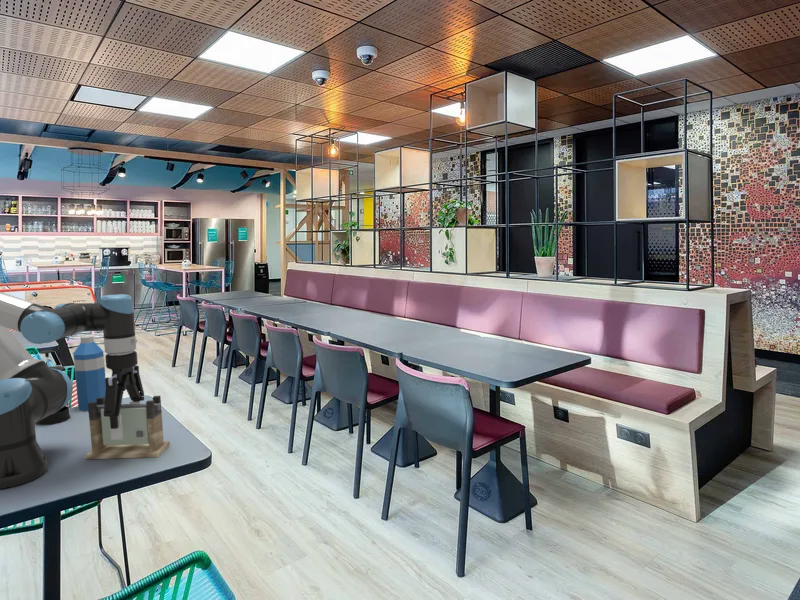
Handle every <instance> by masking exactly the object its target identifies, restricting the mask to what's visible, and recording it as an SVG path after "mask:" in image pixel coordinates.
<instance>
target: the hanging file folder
mask: <svg viewBox="0 0 800 600" xmlns="http://www.w3.org/2000/svg"><path fill="white" fill-rule="evenodd" d="M154 407H155V411H159V410H160V409H161V410H162V402H161V403H154ZM97 412H101V421H102V433H103V445H133V444H149V435H148V422H147V409H146V403H141V404H130V403H128V404H127V403H125V404H123V403H121V407H120V413H119V415H121V417H122V429H123V439H122V440H111V430H110V418H109V417H105V416H104V405H97Z"/></svg>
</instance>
